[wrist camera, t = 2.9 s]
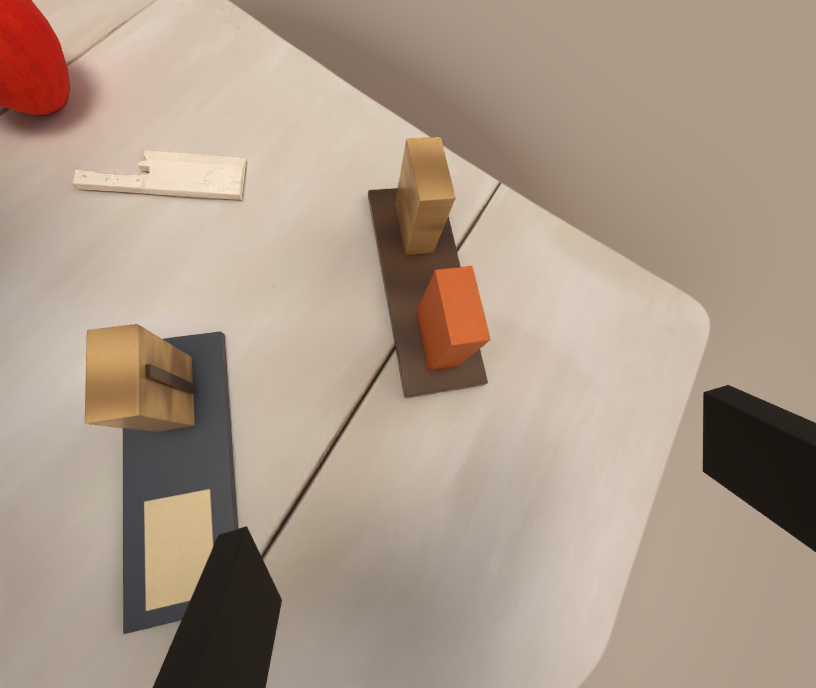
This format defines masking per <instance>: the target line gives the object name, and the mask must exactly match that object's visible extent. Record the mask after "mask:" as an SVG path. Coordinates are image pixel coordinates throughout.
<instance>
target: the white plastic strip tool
mask: <svg viewBox="0 0 816 688" xmlns="http://www.w3.org/2000/svg"><path fill="white" fill-rule="evenodd" d="M143 153H144V155H145V158H146V160H145V161H141V162H139V163H137V165H138V166H139V168H140V169H141V170H142V171H147V172H149V173H148V174H147V175H146V174H145V175H116V174H114V175H110V174H103V173H96V172H90V171H84V170H78V169H76V172H75V176H74V180H73V184H74V185H75V186H76V187H77V188H78V189H85V190H100V191H115V192H130V193H144V194H147V193H149V194H155V195H159V194H161V195H167V196H171V195H175V196H180V197H184V196H190V197H192V198H196V197H205V199H210V198H213V199H214V198H220V199H235V200H242V193H243V185H244V176H245V167H246V158H235V157H223V156H211V155H198V154H186V153H174V152H161V151H149V150H143Z"/></svg>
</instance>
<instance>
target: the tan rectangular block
mask: <svg viewBox="0 0 816 688" xmlns="http://www.w3.org/2000/svg"><path fill="white" fill-rule="evenodd" d="M454 200H455V194H454V190H453V186H452V182H451V178H450V174H449V170H448V165H447V161H446V157H445V153H444V149H443V145H442V141H441V138H440V137H435V138H412V139H406V144H405V150H404V156H403V162H402V168H401V173H400V179H399V185H398V191H397V197H396V203H395V207H396V212H397V217H398V222H399V227H400V232H401V237H402V242H403V247H404V252H405V255H406V256H407V255H416V254H426V253H433V252H434V250H435V248H436V245H437V243H438V240H439V238H440V235H441V233H442V230H443V228H444V225H445V223H446V220H447V218H448V215H449V213H450V210H451V208H452V205H453V203H454Z"/></svg>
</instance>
